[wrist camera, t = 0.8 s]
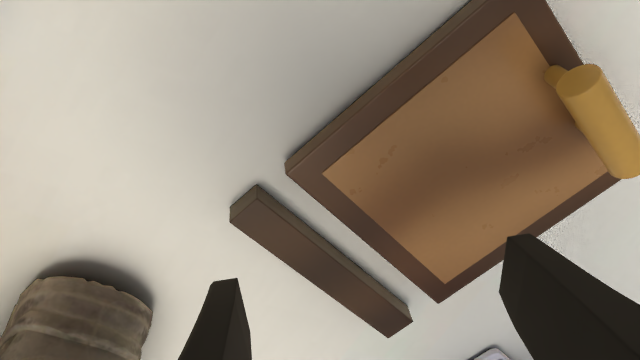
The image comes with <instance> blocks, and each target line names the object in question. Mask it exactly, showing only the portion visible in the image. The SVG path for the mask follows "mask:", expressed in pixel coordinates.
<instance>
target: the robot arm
mask: <svg viewBox="0 0 640 360" xmlns="http://www.w3.org/2000/svg"><path fill="white" fill-rule="evenodd" d="M499 293H500V296H501V298H502V300H503V303H504V305H505V308H506V310H507V312H508V314H509V317H510V319H511V321H512V323H513V325H514V327H515V329H516V331H517V332H518V334H519V336H520V337H521V339H522V341H523V342H524V344H525V346H526V347H527V349H528V351H529V353H530V354H531V356H532V357H533V359H534V360H640V305H639V304H637V303H636V302H634V301H632V300H631V299H629V298H627V297H625V296H624V295H622V294H620V293H619V292H617V291H616V290H614V289H612V288H611V287H609V286H607V285H606V284H604V283H603V282H601V281H600V280H598V279H597V278H595V277H594V276H592V275H590V274H589V273H587V272H586V271H584V270H583V269H581V268H580V267H578V266H577V265H575V264H574V263H573V262H571V261H570V260H568V259H567V258H565V257H564V256H562V255H561V254H559V253H558V252H556V251H555V250H554V249H552V248H551V247H549V246H548V245H546V244H545V243H543V242H542V241H540V240H539V239H537V238H536V237H534V236H533V235H531V234H530V233H528V234H521V235H515V236H508V237H507V242H506V248H505V255H504V262H503V269H502V275H501V282H500V289H499ZM178 360H252V355H251V338H250V329H249V325H248V321H247V317H246V313H245V308H244V304H243V300H242V296H241V292H240V287H239V283H238V279H237V278H234V279H227V280H221V281H214V282H213V283H212V284H211V285H210V288H209V291H208V294H207V296H206V299H205V302H204V304H203V307H202V309H201V312H200V314H199V316H198V319H197V321H196V323H195V325H194V328H193V330H192V332H191V334H190V336H189V338H188V340H187V342H186V344H185V347H184V349H183V351H182V353H181V355H180V356H179V358H178ZM474 360H510V359H509V358H508V357H507V356H506V355H505V354H503V353H502V352H501V351H500V350H499V349H490V350H488V351H487V352H485V353H483V354H482V355H480V356H479V357H477V358H475V359H474Z"/></svg>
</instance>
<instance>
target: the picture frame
mask: <svg viewBox="0 0 640 360" xmlns="http://www.w3.org/2000/svg"><path fill="white" fill-rule="evenodd" d="M284 165H285V172H286V175H287V176H289V177H290V178H291V179H292V180H293V181H294V182H296V183H297V184H298V185H299V186H300V187H301V188H303V189H304V190H305V191H306V192H307V193H309V194H310V195H311V196H312V197H313V198H314V199H316V200H317V201H318V202H319V203H320V204H321V205H323V206H324V207H325V208H326V209H327V210H328V211H330V212H331V213H332V214H333V215H334V216H335V217H337V218H338V219H339V220H340V221H341V222H343V223H344V224H345V225H346V226H347V227H348V228H350V229H351V230H352V231H353V232H354V233H355V234H357V235H358V236H359V237H360V238H361V239H362V240H364V241H365V242H366V243H367V244H368V245H370V246H371V247H372V248H373V249H374V250H375V251H377V252H378V253H379V254H380V255H381V256H382V257H384V258H385V259H386V260H387V261H388V262H389V263H391V264H392V265H393V266H394V267H395V268H397V269H398V270H399V271H400V272H401V273H402V274H404V275H405V276H406V277H407V278H408V279H409V280H411V281H412V282H413V283H414V284H415V285H416V286H418V287H419V288H420V289H421V290H422V291H423V292H425V293H426V294H427V295H428V296H429V297H431V298H432V299H433V300H434V301H435V302H436V303H438V304H439V303H441V302H442V301H444V300H445V299H447V298H448V297H450V296H451V295H452V294H454V293H455V292H457V291H458V290H460V289H461V288H463V287H464V286H466V285H467V284H469V283H470V282H472V281H473V280H475V279H476V278H477V277H479V276H480V275H482V274H483V273H485V272H486V271H488V270H489V269H491V268H492V267H494V266H495V265H497V264H498V263H499V262H501V261H502V260H504V255H505V248H506V242H507V237H508V236H515V235H521V234H528V233H530V234H531V235H533V236H534V237H538V236H539V235H541V234H542V233H544V232H545V231H546V230H548V229H549V228H551V227H552V226H554V225H555V224H557V223H558V222H560V221H561V220H563V219H564V218H566V217H567V216H568V215H570V214H571V213H573V212H574V211H576V210H577V209H579V208H580V207H582V206H583V205H585V204H586V203H588V202H589V201H590V200H592V199H593V198H595V197H596V196H598V195H599V194H601V193H602V192H604V191H605V190H607V189H608V188H610V187H611V186H613V185H614V184H615V183H617V182H618V181H620V180H621V179H629V178H633V177H636V176H638V175H640V135H639V133H638V132H637V130H636V128H635V127H634V125H633V123H632V121H631V120H630V118H629V116H628V114H627V113H626V111H625V109H624V108H623V106H622V104H621V102H620V101H619V99H618V97H617V95H616V94H615V92H614V90H613V89H612V87H611V85H610V83H609V82H608V80H607V78H606V76H605V75H604V73H603V71H602V69H601V68H600V67H599V66H597V65H594V64H585V65H584V64H583V62H582V61H581V59H580V57H579V56H578V54H577V52H576V51H575V49H574V47H573V46H572V44H571V42H570V41H569V39H568V37H567V36H566V34H565V32H564V31H563V29H562V27H561V26H560V24H559V22H558V21H557V19H556V17H555V16H554V14H553V12H552V11H551V9H550V7H549V6H548V4H547V2H546V1H545V0H471V1H470V2H469V3H468V4H467V5H466V6H465V7H463V8H462V9H461V10H460V11H459V12H458V13H456V14H455V15H454V16H453V17H452V18H451V19H450V20H448V21H447V22H446V23H445V24H444V25H443V26H442V27H440V28H439V29H438V30H437V31H436V32H435V33H433V34H432V35H431V36H430V37H429V38H428V39H427V40H425V41H424V42H423V43H422V44H421V45H420V46H418V47H417V48H416V49H415V50H414V51H413V52H412V53H410V54H409V55H408V56H407V57H406V58H405V59H404V60H402V61H401V62H400V63H399V64H398V65H397V66H395V67H394V68H393V69H392V70H391V71H390V72H389V73H387V74H386V75H385V76H384V77H383V78H382V79H380V80H379V81H378V82H377V83H376V84H375V85H374V86H372V87H371V88H370V89H369V90H368V91H367V92H366V93H364V94H363V95H362V96H361V97H360V98H359V99H357V100H356V101H355V102H354V103H353V104H352V105H351V106H349V107H348V108H347V109H346V110H345V111H344V112H342V113H341V114H340V115H339V116H338V117H337V118H336V119H334V120H333V121H332V122H331V123H330V124H329V125H328V126H326V127H325V128H324V129H323V130H322V131H321V132H319V133H318V134H317V135H316V136H315V137H314V138H313V139H311V140H310V141H309V142H308V143H307V144H306V145H304V146H303V147H302V148H301V149H300V150H299V151H298V152H296V153H295V154H294V155H293V156H292V157H291V158H290V159H288V160H287V161H286V162H285V163H284Z"/></svg>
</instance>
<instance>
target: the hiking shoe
mask: <svg viewBox="0 0 640 360" xmlns="http://www.w3.org/2000/svg"><path fill="white" fill-rule="evenodd" d="M152 314H153V312H152V311H151V310H150V309H149V308H148V307H147V306H146V305H145V304H144V303H143V302H142V301H141V300H139V299H138V298H136V297H134V296H133V295H130V294H128V293H126V292H124V291H121V292H119V291H117V290H116V289H115V288H114V287H113V286H108V285H102V284H100V283H98V282H96V281H88V282H87V281H86V280H85V279H84V278H77V277H65V276H57V277H47V278H46V279H45V280H44V279H36V280H35V281H34V282H33V283H32V284H31V285H30V286H29V287H28V288H27V289H26V290H25V291H24V292H23V293H22V294H21V295H20V297H19V300H18V303H17V305H15V307H14V309H13V312H12V314H11V317H10V319H9V322H8V324H7V326H6V329H5V331H4V333H3V335H2V337H1V339H0V360H140V358H141V348H142V346H143V344H144V342H145V340H146V338H147V335H148V332H149V329H150V327H151V321H152Z"/></svg>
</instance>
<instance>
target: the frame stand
mask: <svg viewBox="0 0 640 360" xmlns="http://www.w3.org/2000/svg"><path fill="white" fill-rule="evenodd" d="M230 223H231V224H233V225H234V226H235V227H237V228H238V229H239V230H241V231H242V232H243V233H245V234H246V235H248V236H249V237H250V238H252V239H253V240H254V241H256V242H257V243H259V244H260V245H261V246H263V247H264V248H265V249H267V250H268V251H269V252H271V253H272V254H274V255H275V256H276V257H278V258H279V259H280V260H282V261H283V262H284V263H286V264H287V265H289V266H290V267H291V268H293V269H294V270H295V271H297V272H298V273H300V274H301V275H302V276H304V277H305V278H306V279H308V280H309V281H310V282H312V283H313V284H315V285H316V286H317V287H319V288H320V289H321V290H323V291H324V292H325V293H327V294H328V295H330V296H331V297H332V298H334V299H335V300H336V301H338V302H339V303H341V304H342V305H343V306H345V307H346V308H347V309H349V310H350V311H351V312H353V313H354V314H356V315H357V316H358V317H360V318H361V319H362V320H364V321H365V322H366V323H368V324H369V325H371V326H372V327H373V328H375V329H376V330H377V331H379V332H380V333H382V334H383V335H384V336H386V337H387V338H390V337H391V336H393V335H394V334H396V333H397V332H399V331H400V330H402V329H403V328H404V327H406V326H407V325H409V324H410V323H412V322H413V320H412V317H411V315H410V312H409V309H408V307H407V305H405V304H404V303H403V302H402V301H400V300H399V299H398V298H397V297H395V296H394V295H393V294H392V293H391V292H389V291H388V290H387V289H386V288H384V287H383V286H382V285H381V284H379V283H378V282H377V281H376V280H374V279H373V278H372V277H371V276H369V275H368V274H367V273H366V272H364V271H363V270H362V269H361V268H360V267H358V266H357V265H356V264H355V263H353V262H352V261H351V260H350V259H348V258H347V257H346V256H345V255H343V254H342V253H341V252H340V251H338V250H337V249H336V248H335V247H333V246H332V245H331V244H330V243H329V242H327V241H326V240H325V239H324V238H322V237H321V236H320V235H319V234H317V233H316V232H315V231H314V230H312V229H311V228H310V227H309V226H307V225H306V224H305V223H304V222H302V221H301V220H300V219H299V218H298V217H296V216H295V215H294V214H293V213H291V212H290V211H289V210H288V209H286V208H285V207H284V206H283V205H281V204H280V203H279V202H278V201H276V200H275V199H274V198H273V197H271V196H270V195H269V194H268V193H267V192H265V191H264V190H263V189H262V188H260V187H259V186H258V185H255V186H254V187H253V188H252V189H251V190H250V191H248V192H247V193H246V194H245V195H244V196H243V197H241V198H240V199H239V200H238V201H237V202H236V203H235V204H233V205H232V206H231V207H230Z"/></svg>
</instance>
